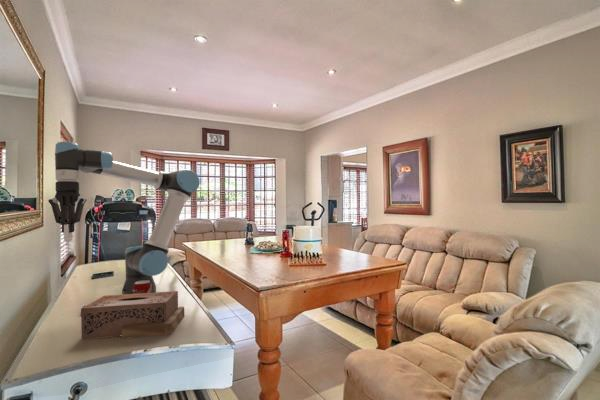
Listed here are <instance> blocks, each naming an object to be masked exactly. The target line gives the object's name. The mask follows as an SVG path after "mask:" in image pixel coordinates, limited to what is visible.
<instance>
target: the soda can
mask: <svg viewBox="0 0 600 400" xmlns="http://www.w3.org/2000/svg"><path fill="white" fill-rule="evenodd" d="M134 284H135V285H134V286H133V294H140V293H152V285H151V283H150V281H149V280H143V281H137V282H135V283H134Z"/></svg>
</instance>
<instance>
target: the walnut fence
mask: <svg viewBox="0 0 600 400" xmlns="http://www.w3.org/2000/svg"><path fill="white" fill-rule="evenodd" d="M184 318H185V306H178V309H177V310H176V311H175V312H174V313H173V315H172V316H171V317H170V318H169V319H168V320H167V321H166V322H154V323H141V324H128V325H124V326H122V336H121V339H127V337H132V338H142V337H141V336H144V337H152V336H165V335H172V334H173V333H174V332H175V330H176V328H178V326H179V325H180V323H181V322H182V320H183V319H184Z"/></svg>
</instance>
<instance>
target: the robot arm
mask: <svg viewBox="0 0 600 400" xmlns="http://www.w3.org/2000/svg"><path fill="white" fill-rule="evenodd" d="M54 151H55V152H54V161H55V162H54V163H55V164H54V166H55V174H54V175H55V181H56V182H55V192H56V193H55V194H54V197H53V198H50V199H48V200H47V201H48V203H49V204H50V205H51V206H50V207H51V209H52V213H53V216H54V221H55V223H57V224H60V225H61V232H62V233H63V242H71V241H73V233H75V225H76V224H78V223H80V221H81V218H82V215H83V209H84V206H85V204H86V203H87V202H88V201H87V200H88V199H87V198H84V197H82V196H81V194H80V183H79V181H80V172H82V173H84V174H85V173H87V174H88V173H92V174H98V175H102V176H107V177H110V178H114V179H120V180H123V181H124V180H125V181H128V182H133V183H137V184H141V185H142V184H143V185H146V186H151V187H153V188H154V189H155V190H160V191H163V192H167V194H168V195H167V198H166V200H165V201H164V205H163V207H162V210H161V211H160V214H159V216H158V218H157V220H156V222H155V225H154V228H153V230H152V231H151V235H150V237H149V239H148V240H147V241H144V242H143V244H142V245H137V246H132V247H127V248H126V249H125V251H124V253H125V254H124V257H125V258H124V259H125V260H124V262H125V263H124V264H125V280H124V283H123V286H122V289H121V295H125V294H133V286H134V285H135V284H134V283H135V282H137V281H143V280H149V281H150V283H151V285H152V293H155V292H157V285H156V282H155V279H154V277H155V276H158V275H160V274H162V273H163V272H164V271H165V270H166V269H167V267H168V265H169V258H168V254H169V251H170V250H169V247H168V245H169V243H170V240H171V238H172V235H173V232H174V230H175V227H176V226H177V223H178V220H179V218H180V216H181V214H182V213H181V212H182V210H183V209H184V206H185V203H186V201H189V200H190V199H191V197H192V194H193V193H194V192H195V191H197V189H198V188H200V177H199V176H198V174H197V173H196V172H195V171H193V170H192V169H189V168H188V169H180V170H175V171H171V172H169V171H167V172H166V171H162V170H159V171H153V170H150V169H146V168H143V167H142V168H141V167H138V166H133V165H131V164H130V165H129V164H127V163H122V162H118V161H115V160H114V157H113V154H112V152H110V151H105V150H94V149H93V150H92V149H83V148H80V147H79V144H78V143H77V142H72V141H58V142H56V143H55V150H54ZM153 276H154V277H153Z"/></svg>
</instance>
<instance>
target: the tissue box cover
mask: <svg viewBox="0 0 600 400" xmlns="http://www.w3.org/2000/svg"><path fill="white" fill-rule="evenodd" d="M178 307H179V291H178V290H175V291H174V290H172V291H156V292H154V293H140V294H125V295H122V294H115V295H114V294H112V295H111V294H110V295H103V296H101V297H100V298H97V299H96V300H94V301H92V302H91V303H88V304H87V305H85V306H82V308H81V309H80V312H81V314H80V316H81V319H80V321H81V323H80V324H81V325H80V326H81V328H80V329H81V330H80V331H81V340H88V339H89V340H91V339H103V338H102V337H104V338H112V337H111V336H116V337H121V336H120V335H122V326H124V325H128V324H141V323H154V322H166V321H167V320H168V319H169V318H170V317H171V316H172V315H173V313H174V312H175V311H176V310H177V309H178Z"/></svg>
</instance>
